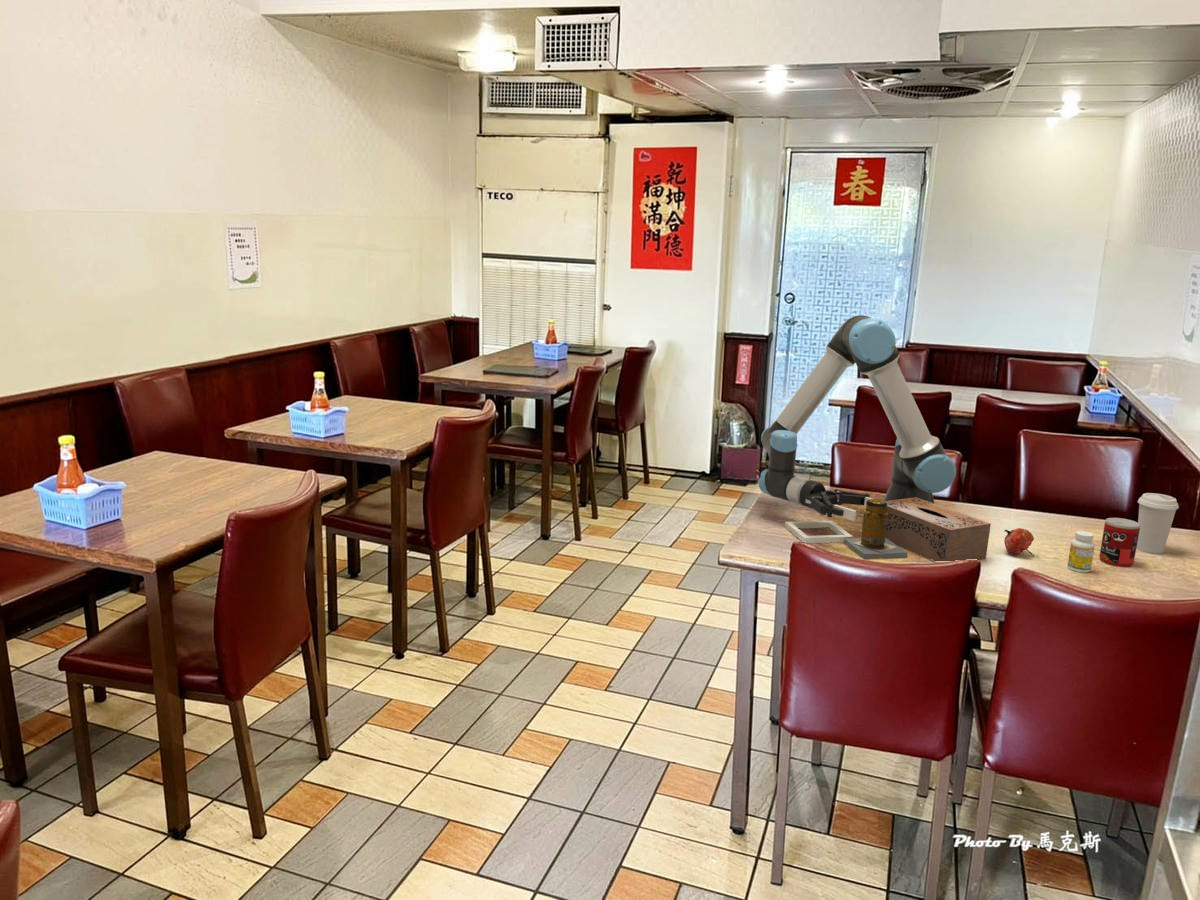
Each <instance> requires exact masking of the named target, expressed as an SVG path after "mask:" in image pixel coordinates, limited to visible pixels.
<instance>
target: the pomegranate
mask: <svg viewBox="0 0 1200 900" xmlns="http://www.w3.org/2000/svg"><path fill="white" fill-rule="evenodd" d="M1003 532H1004V533H1005V532H1006V533H1007V534H1005V537H1004V540H1003V541H1004V547H1005V550H1006V551H1007V552H1008V553H1009V554H1010V555H1013V556H1021V555H1022V554H1023V552H1024V551H1027V552H1028V553H1029V554H1030V555H1032V556H1033V557H1035V555H1034V554H1033V553H1032V552H1031V551H1029V548H1030V546H1031V545H1032V543H1033V541H1034V540H1035V537H1034V535H1033V534H1032V533H1031V531H1029V530H1028V529H1025V528H1021V527H1020V528H1019V527H1018V528H1015V529H1012V530H1007V529H1004V530H1003Z"/></svg>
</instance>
